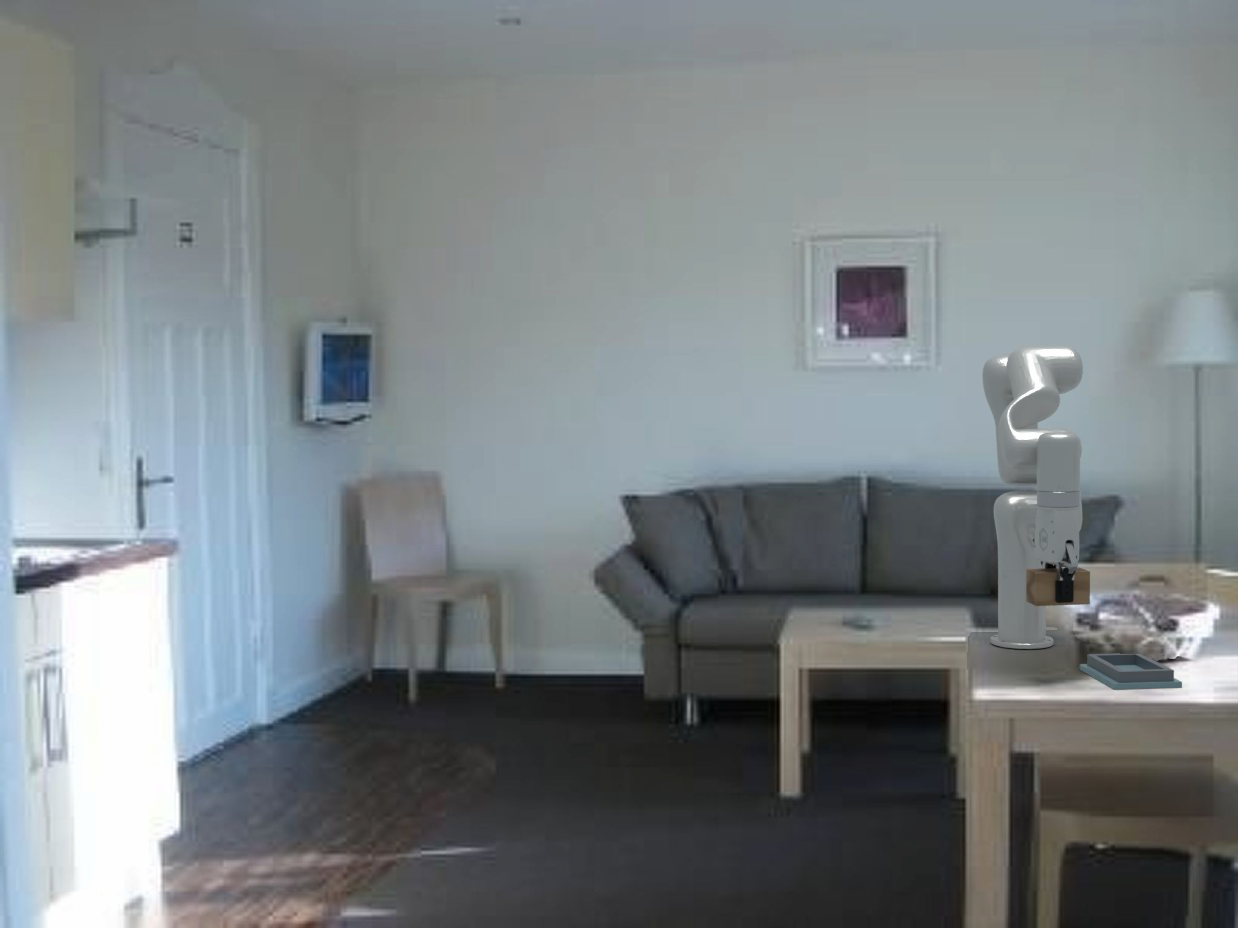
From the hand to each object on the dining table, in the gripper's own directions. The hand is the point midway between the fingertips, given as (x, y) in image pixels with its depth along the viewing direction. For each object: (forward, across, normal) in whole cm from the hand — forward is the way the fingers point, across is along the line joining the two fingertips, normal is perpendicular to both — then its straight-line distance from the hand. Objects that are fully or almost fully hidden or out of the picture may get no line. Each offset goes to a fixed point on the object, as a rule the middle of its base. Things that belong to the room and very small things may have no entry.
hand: (1057, 598), depth 273 cm
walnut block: (+1, 0, 0) cm, 1 cm away
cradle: (+15, 0, +14) cm, 21 cm away
